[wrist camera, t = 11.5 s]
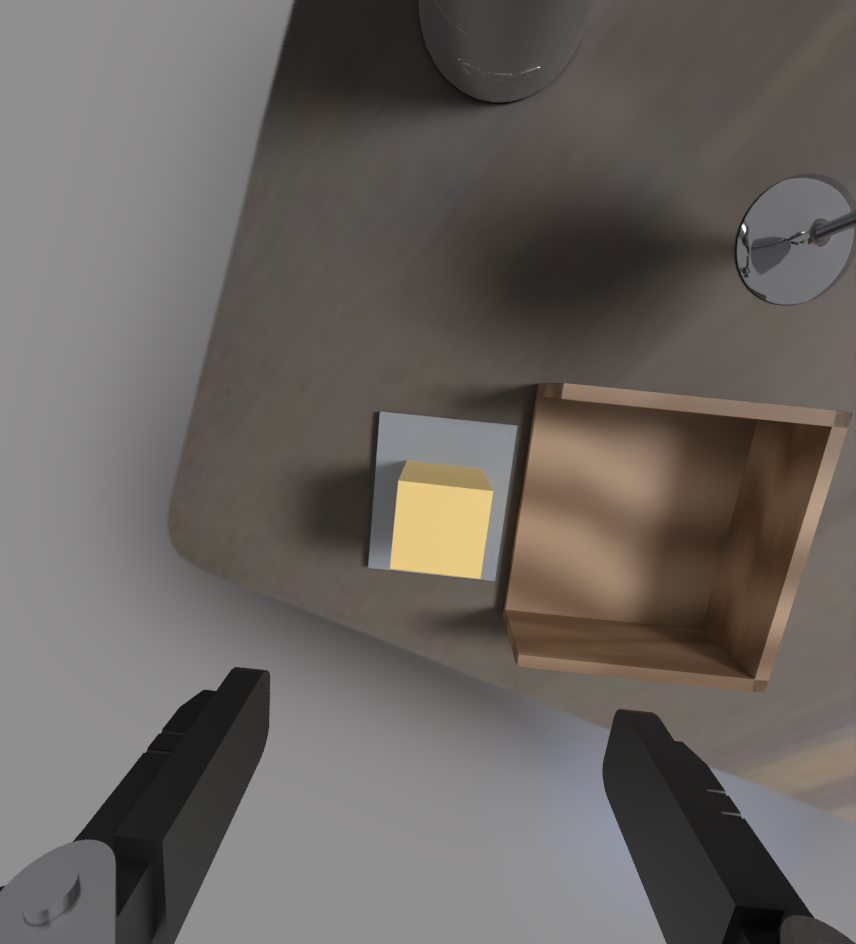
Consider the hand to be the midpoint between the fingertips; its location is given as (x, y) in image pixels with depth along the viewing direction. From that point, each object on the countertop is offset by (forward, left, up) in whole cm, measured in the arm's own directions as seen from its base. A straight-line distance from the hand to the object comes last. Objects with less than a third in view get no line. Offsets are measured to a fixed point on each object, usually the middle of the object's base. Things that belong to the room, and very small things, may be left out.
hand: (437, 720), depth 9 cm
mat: (0, 0, -19) cm, 19 cm away
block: (0, 0, -19) cm, 19 cm away
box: (0, +13, -19) cm, 23 cm away
